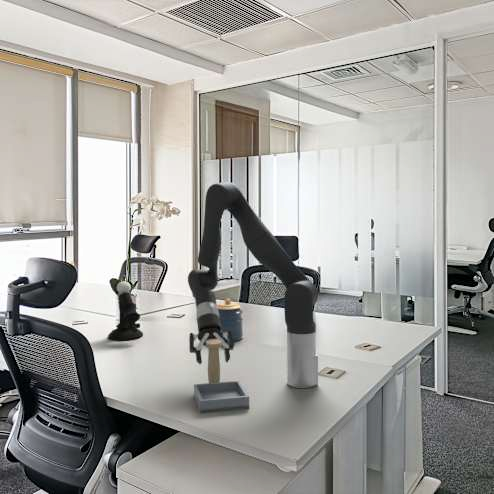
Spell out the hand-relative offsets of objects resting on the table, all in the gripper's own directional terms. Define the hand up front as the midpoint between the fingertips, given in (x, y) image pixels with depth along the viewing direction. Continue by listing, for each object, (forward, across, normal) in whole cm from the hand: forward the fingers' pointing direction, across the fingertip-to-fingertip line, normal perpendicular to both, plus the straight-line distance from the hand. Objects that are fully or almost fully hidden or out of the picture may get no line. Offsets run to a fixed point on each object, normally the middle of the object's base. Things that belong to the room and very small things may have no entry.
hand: (213, 362), depth 160 cm
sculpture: (-45, -27, +57) cm, 78 cm away
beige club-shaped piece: (+6, 0, +6) cm, 9 cm away
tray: (+14, 0, -2) cm, 14 cm away
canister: (-37, +16, +50) cm, 64 cm away
